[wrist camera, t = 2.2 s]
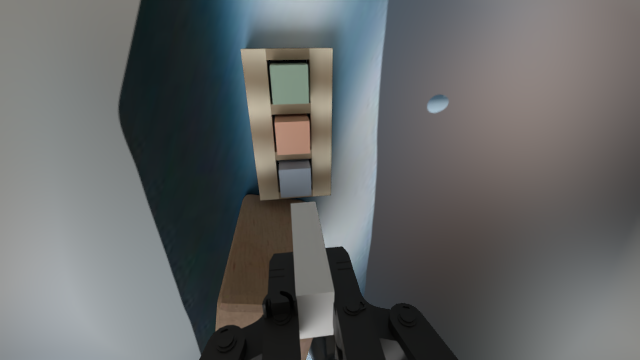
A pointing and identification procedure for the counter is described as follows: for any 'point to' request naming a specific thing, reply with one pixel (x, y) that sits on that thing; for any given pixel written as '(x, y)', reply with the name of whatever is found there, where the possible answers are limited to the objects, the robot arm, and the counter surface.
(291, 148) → the terracotta button
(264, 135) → the wooden slotted tray
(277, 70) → the green button
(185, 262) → the counter surface
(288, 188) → the grey small cube
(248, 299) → the block
